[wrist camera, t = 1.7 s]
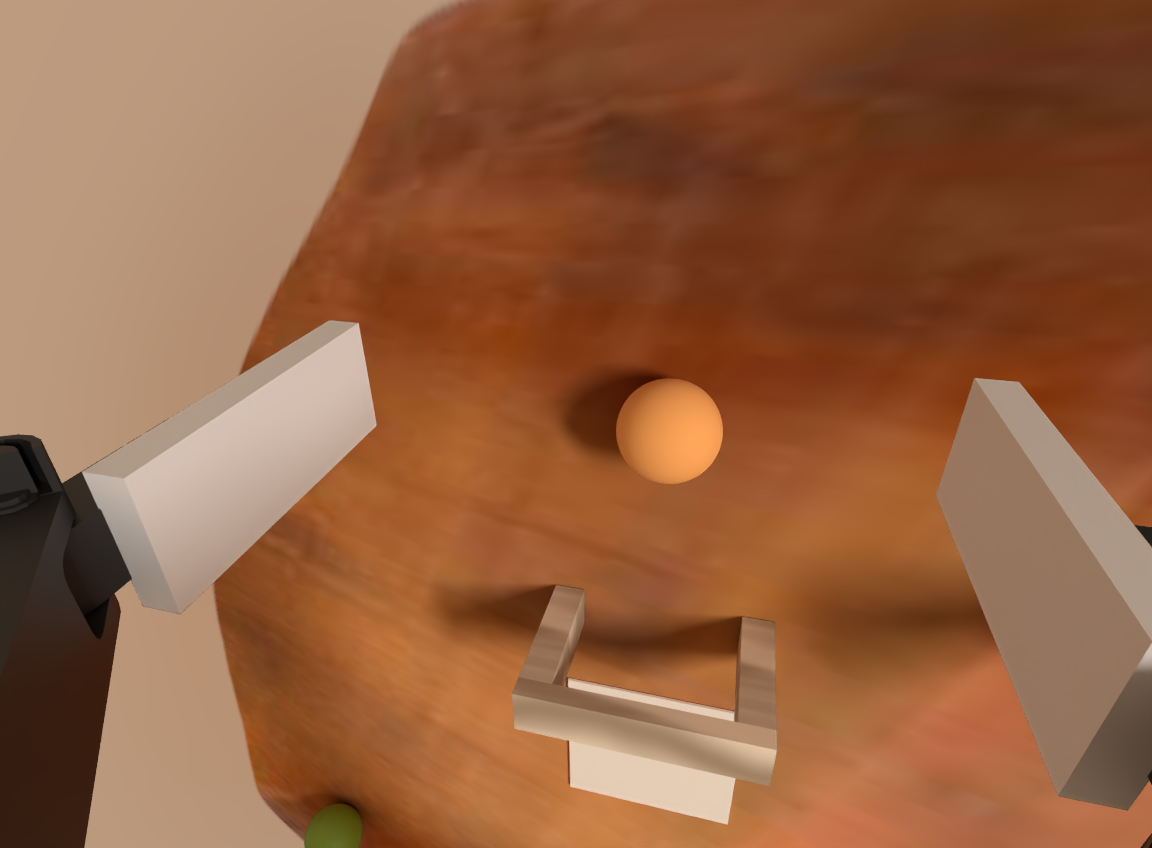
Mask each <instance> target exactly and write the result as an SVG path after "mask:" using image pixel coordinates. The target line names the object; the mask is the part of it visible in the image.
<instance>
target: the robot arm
mask: <svg viewBox="0 0 1152 848" xmlns="http://www.w3.org/2000/svg"><path fill="white" fill-rule="evenodd" d="M376 426H377V424H376V418H375V413H374V407H373V402H372V396H371V390H370V385H369V379H368V374H367V368H366V362H365V357H364V351H363V346H362V340H361V335H360V329H359V323H352V322H341V321H330V320H329V321H328V322H326V323H324V324H323V325H321V326H319V327H318V328H316V329H315V330H313V331H311V332H310V333H308V334H306V335H305V336H303V337H301V338H300V339H298V340H297V341H295V342H293V343H292V344H290V345H288V346H287V347H285V348H283V349H282V350H280V351H279V352H277V353H275V354H274V355H272V356H270V357H269V358H267V359H266V360H264V361H262V362H261V363H259V364H257V365H256V366H254V367H252V368H251V369H249V370H248V371H246V372H244V373H243V374H241V375H239V376H238V377H236V378H234V379H233V380H231V381H230V382H228V383H226V384H225V385H223V386H221V387H220V388H218V389H216V390H215V391H213V392H212V393H210V394H208V395H207V396H205V397H203V398H202V399H200V400H198V401H197V402H195V403H194V404H192V405H190V406H189V407H187V408H185V409H184V410H182V411H181V412H179V413H177V414H176V415H174V416H172V417H171V418H169V419H167V420H165V421H163V422H162V423H160V424H159V425H157V426H155V427H154V428H152V429H151V430H149V431H147V432H146V433H145V434H143V435H141V436H139V437H137V438H136V439H134V440H132V441H131V442H129V443H128V444H127V445H125V446H123V447H121V448H119V449H118V450H116V451H114V452H113V453H111V454H110V455H108V456H106V457H105V458H103V459H101V460H100V461H98V462H96V463H95V464H93V465H91V466H90V467H88V468H87V469H85V470H83V471H82V472H80V473H78V474H77V475H75V476H73V477H72V478H70V479H69V480H67V481H65V482H64V483H61V481H60V479H59V476H58V474H57V472H56V470H55V468H54V466H53V464H52V462H51V460H50V458H49V456H48V454H47V451H46V450H45V447H44V445H43V443H42V441H41V439H39V438H36V437H34V436H32V435H11V436H1V437H0V848H84V846H85V839H86V833H87V826H88V820H89V814H90V807H91V801H92V794H93V788H94V781H95V775H96V768H97V762H98V755H99V749H100V742H101V736H102V729H103V723H104V716H105V710H106V703H107V697H108V691H109V684H110V678H111V671H112V665H113V658H114V651H115V645H116V639H117V632H118V626H119V619H120V613H121V611H120V606H119V602H118V600H117V598H116V596H115V594H114V593H115V592H117V591H118V590H119V589H120V588H121V587H123V586H124V585H125V584H126V583H127V582H128V581H130V580H131V581H132V584H133V586H134V588H135V590H136V592H137V594H138V597H139V599H140V601H141V603H142V606H143V607H148V608H153V609H158V610H163V611H168V612H173V613H177V614H181V613H182V612H183V611H185V610H186V608H188V607H189V606H190V605H191V604H192V603H193V602H194V601H195V600H196V599H197V598H198V597H199V596H200V595H201V594H202V593H203V592H204V591H205V590H206V589H207V588H208V587H209V586H210V585H212V584H213V583H214V582H215V581H216V580H217V579H218V578H219V577H220V576H221V575H222V574H223V573H224V572H225V571H226V570H227V569H228V568H229V567H230V566H231V565H232V564H233V563H234V562H235V561H236V560H237V559H239V558H240V557H241V556H242V555H243V554H244V553H245V552H246V551H247V550H248V549H249V548H250V547H251V546H252V545H253V544H254V543H255V542H256V541H257V540H258V539H259V538H260V537H261V536H262V535H263V534H264V533H266V532H267V531H268V530H269V529H270V528H271V527H272V526H273V525H274V524H275V523H276V522H277V521H278V520H279V519H280V518H281V517H282V516H283V515H284V514H285V513H286V512H287V511H288V510H289V509H290V508H291V507H293V506H294V505H295V504H296V503H297V502H298V501H299V500H300V499H301V498H302V497H303V496H304V495H305V494H306V493H307V492H308V491H309V490H310V489H311V488H312V487H313V486H314V485H315V484H316V483H317V482H318V481H320V480H321V479H322V478H323V477H324V476H325V475H326V474H327V473H328V472H329V471H330V470H331V469H332V468H333V467H334V466H335V465H336V464H337V463H338V462H339V461H340V460H341V459H342V458H343V457H344V456H345V455H347V454H348V453H349V452H350V451H351V450H352V449H353V448H354V447H355V446H356V445H357V444H358V443H359V442H360V441H361V440H362V439H363V438H364V437H365V436H366V435H367V434H368V433H369V432H370V431H371V430H372V429H374V428H375V427H376ZM936 497H937V499H938V502H939V504H940V507H941V509H942V512H943V514H944V517H945V519H946V522H947V524H948V526H949V529H950V531H951V534H952V536H953V539H954V541H955V544H956V546H957V549H958V551H959V554H960V556H961V559H962V561H963V563H964V566H965V568H966V571H967V573H968V576H969V578H970V581H971V583H972V586H973V588H974V591H975V593H976V595H977V598H978V600H979V603H980V605H981V608H982V610H983V613H984V615H985V618H986V620H987V623H988V625H989V628H990V630H991V632H992V635H993V637H994V640H995V642H996V645H997V647H998V650H999V652H1000V655H1001V657H1002V660H1003V662H1004V664H1005V667H1006V669H1007V672H1008V674H1009V677H1010V679H1011V682H1012V684H1013V687H1014V689H1015V692H1016V694H1017V697H1018V699H1019V701H1020V704H1021V706H1022V709H1023V711H1024V714H1025V716H1026V719H1027V721H1028V724H1029V726H1030V729H1031V731H1032V733H1033V736H1034V738H1035V741H1036V743H1037V746H1038V748H1039V751H1040V753H1041V756H1042V758H1043V761H1044V763H1045V766H1046V768H1047V770H1048V773H1049V775H1050V778H1051V780H1052V783H1053V785H1054V788H1055V790H1056V793H1057V795H1058V796H1060V797H1065V798H1070V799H1075V800H1079V801H1084V802H1089V803H1094V804H1099V805H1104V806H1108V807H1113V808H1118V809H1123V810H1128V809H1129V808H1130V807H1131V805H1132V804H1133V802H1134V801H1135V800H1136V798H1137V797H1138V795H1139V794H1140V793H1141V791H1142V790H1143V788H1144V787H1145V786H1146V784H1147V783H1148V781H1149V780H1150V782H1151V784H1152V527H1145V526H1137V525H1133V523H1132V522H1131V521H1130V520H1129V518H1128V517H1127V516H1126V515H1125V513H1124V512H1123V511H1122V510H1121V508H1120V507H1119V506H1118V505H1117V503H1116V502H1115V501H1114V500H1113V498H1112V497H1111V496H1110V495H1109V493H1108V492H1107V491H1106V490H1105V489H1104V487H1103V486H1102V485H1101V484H1100V482H1099V481H1098V480H1097V479H1096V477H1095V476H1094V475H1093V474H1092V472H1091V471H1090V470H1089V469H1088V467H1087V466H1086V465H1085V464H1084V462H1083V461H1082V460H1081V459H1080V457H1079V456H1078V455H1077V454H1076V452H1075V451H1074V450H1073V449H1072V447H1071V446H1070V445H1069V444H1068V442H1067V441H1066V440H1065V439H1064V438H1063V436H1062V435H1061V434H1060V433H1059V431H1058V430H1057V429H1056V428H1055V426H1054V425H1053V424H1052V423H1051V421H1050V420H1049V419H1048V418H1047V416H1046V415H1045V414H1044V413H1043V411H1042V410H1041V409H1040V408H1039V406H1038V405H1037V404H1036V403H1035V401H1034V400H1033V399H1032V398H1031V396H1030V395H1029V394H1028V393H1027V391H1026V390H1025V389H1024V388H1023V387H1022V385H1021V384H1020V383H1019V382H1012V381H1001V380H990V379H978V378H974V381H973V384H972V387H971V390H970V393H969V396H968V399H967V402H966V406H965V409H964V412H963V415H962V418H961V421H960V424H959V427H958V430H957V433H956V436H955V439H954V442H953V445H952V448H951V451H950V454H949V457H948V460H947V463H946V466H945V469H944V472H943V475H942V479H941V482H940V485H939V488H938V491H937V494H936ZM1141 848H1152V834H1151V835H1150V836H1149V837H1148V839H1147V840H1146V841H1145V843H1144V844H1143V845H1142V846H1141Z"/></svg>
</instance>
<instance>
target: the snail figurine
mask: <svg viewBox="0 0 1152 848" xmlns="http://www.w3.org/2000/svg"><path fill="white" fill-rule="evenodd" d="M362 836H363V823H362V820H361V817H360V815H359V813H358V812H357V811H356V810H355V809H354V808H353V807H351V806H349V805H347V804H343V803H336V804H331V805H328V806H326V807H324V808H323V809H321V810H320V811H319V812H318V813H317V814H316V815H315V816H314V817H313V818H312V820H311V821H310V823H309V825H308V827H307V830H306V833H305V840H304V844H305V848H359V846H360V843H361V841H362Z"/></svg>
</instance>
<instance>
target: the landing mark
mask: <svg viewBox="0 0 1152 848" xmlns="http://www.w3.org/2000/svg"><path fill="white" fill-rule="evenodd" d="M568 687H569V688H574V689H579V690H584V691H589V692H594V693H598V694H603V695H608V696H613V697H618V698H623V699H627V700H632V701H637V702H642V703H647V704H652V705H657V706H661V707H666V708H671V709H676V710H681V711H686V712H690V713H695V714H700V715H705V716H710V717H715V718H720V719H724V720H729V721H734V711H730V710H725V709H720V708H715V707H711V706H706V705H701V704H696V703H691V702H686V701H681V700H676V699H671V698H666V697H661V696H656V695H651V694H646V693H642V692H637V691H632V690H627V689H622V688H617V687H612V686H607V685H602V684H597V683H592V682H587V681H582V680H577V679H573V678H568ZM569 750H570V787H574V788H578V789H583V790H587V791H591V792H595V793H599V794H603V795H607V796H612V797H616V798H620V799H624V800H628V801H632V802H637V803H641V804H645V805H649V806H653V807H657V808H661V809H666V810H670V811H674V812H678V813H682V814H686V815H690V816H695V817H699V818H703V819H707V820H711V821H715V822H719V823H724V824H728V818H729V812H730V807H731V801H732V795H733V789H734V784H735V778H732V777H727V776H723V775H719V774H714V773H710V772H705V771H701V770H696V769H692V768H687V767H683V766H679V765H674V764H670V763H665V762H661V761H656V760H652V759H648V758H643V757H639V756H634V755H630V754H625V753H621V752H616V751H612V750H608V749H603V748H599V747H594V746H590V745H585V744H581V743H576V742H572V741H569Z"/></svg>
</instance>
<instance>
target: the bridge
mask: <svg viewBox="0 0 1152 848" xmlns="http://www.w3.org/2000/svg"><path fill="white" fill-rule="evenodd" d="M584 622H585V614H584V589H578V588H572V587H566V586H560V585H556V586H555V589H554V591H553V594H552V596H551V599H550V601H549V604H548V606H547V609H546V611H545V614H544V616H543V618H542V621H541V623H540V626H539V628H538V631H537V633H536V636H535V638H534V641H533V643H532V646H531V648H530V651H529V653H528V655H527V658H526V660H525V663H524V665H523V668H522V670H521V673H520V675H519V678H518V680H517V683H516V685H515V687H514V690H513V692H512V701H513V713H514V725H515V729H519V730H523V731H528V732H532V733H537V734H541V735H545V736H550V737H554V738H559V739H563V740H568V741H572V742H576V743H581V744H585V745H590V746H594V747H599V748H603V749H608V750H612V751H616V752H621V753H625V754H630V755H634V756H639V757H643V758H648V759H652V760H656V761H661V762H665V763H670V764H674V765H679V766H683V767H687V768H692V769H696V770H701V771H705V772H710V773H714V774H719V775H723V776H727V777H732V778H736V779H741V780H745V781H750V782H754V783H759V784H763V785H767V786H769V785H770V780H771V776H772V771H773V766H774V762H775V757H776V752H777V727H776V675H775V623H774V622H771V621H765V620H759V619H754V618H748V617H742V622H741V629H740V635H739V642H738V649H737V668H736V689H735V711H734V721H729V720H724V719H720V718H715V717H710V716H705V715H700V714H695V713H690V712H686V711H681V710H676V709H671V708H666V707H661V706H657V705H652V704H647V703H642V702H637V701H632V700H627V699H623V698H618V697H613V696H608V695H603V694H598V693H594V692H589V691H584V690H579V689H574V688H569V687H564V683H565V680H566V677H567V674H568V671H569V668H570V665H571V662H572V659H573V656H574V653H575V650H576V647H577V644H578V640H579V637H580V634H581V631H582V628H583V625H584Z"/></svg>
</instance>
